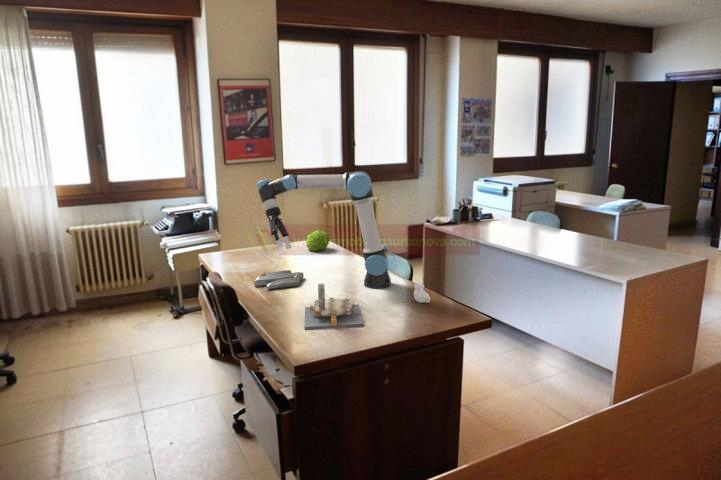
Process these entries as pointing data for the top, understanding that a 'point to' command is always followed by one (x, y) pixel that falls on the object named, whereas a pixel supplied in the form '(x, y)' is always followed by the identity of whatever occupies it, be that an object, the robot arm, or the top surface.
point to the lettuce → (317, 240)
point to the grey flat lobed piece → (279, 279)
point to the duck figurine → (420, 293)
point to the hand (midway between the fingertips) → (284, 247)
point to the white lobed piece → (330, 305)
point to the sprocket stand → (333, 320)
